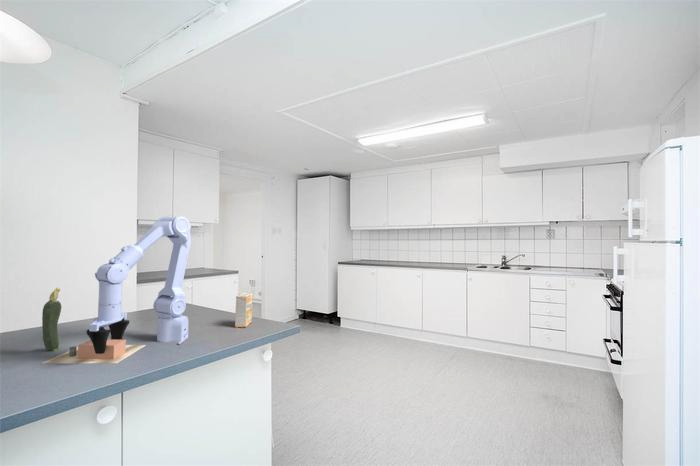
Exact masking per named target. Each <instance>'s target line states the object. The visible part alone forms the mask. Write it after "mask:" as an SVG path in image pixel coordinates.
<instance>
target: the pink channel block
mask: <svg viewBox="0 0 700 466" xmlns="http://www.w3.org/2000/svg"><path fill="white" fill-rule="evenodd" d="M126 342H127V340H126V339H122V340H111V339H108V338H107V342H106V349H105V352H104V353H103V354H96V353H95V350H94V346H93V343H92V341H91V339H89V340H87V341H84V342H83V343H80V344H78V346H77V347H78V359H115V358H117V357H118V356H120V355H122V354H124V353H125V347H126V345H127V344H126Z"/></svg>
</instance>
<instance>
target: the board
mask: <svg viewBox="0 0 700 466" xmlns="http://www.w3.org/2000/svg"><path fill="white" fill-rule="evenodd" d="M146 346H147V345H146V344H126V347H125V353H124V354H122V355H120V356H118V357H117V358H115V359H78V346H76V345H75V346H70V347H69V350H68V351H66V352H63V353H61V354H59V355H57V356H54V357H52V358H51V359H48V360H46V361H43V362H42V364H119V363H120V362H121V361H123V360H124V359H127V358H128V357H129V356H131V355H133V354H135V353H136V352H138V351H140V350H141V349H142V348H144V347H146Z"/></svg>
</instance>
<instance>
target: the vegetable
mask: <svg viewBox="0 0 700 466" xmlns="http://www.w3.org/2000/svg"><path fill="white" fill-rule="evenodd" d="M60 291H61V288H59V287H56V288H55V289H54V290H53V291H52V292H51V293H50V295H49V299H48V301H47V302H45V304H44V305H43V308H42V313H41V315H42V316H41V317H42V318H41V320H42V322H41V324H42V327H41V328H42V340H43V344H44V348H45V349H46V350H47V351H49V352H53V351H59V349H60V341H59V332H58V324H59V320H60V317H61V316H60V315H61V312H62V303H61V301H59V300H58V298H59V292H60Z"/></svg>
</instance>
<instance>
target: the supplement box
mask: <svg viewBox="0 0 700 466" xmlns="http://www.w3.org/2000/svg"><path fill="white" fill-rule="evenodd" d="M253 297H254V293H252V292H251V293H250V292H249V293H248V292H247V293H246V292H243V293H239V294H238V295H236V296H235V317H234V318H235V321H234V327H235V328H238V327H246V328H247V327H248V326H250V325H251V324H252V323H253V322H252V320H253ZM251 322H252V323H251ZM250 323H251V324H250Z"/></svg>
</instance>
